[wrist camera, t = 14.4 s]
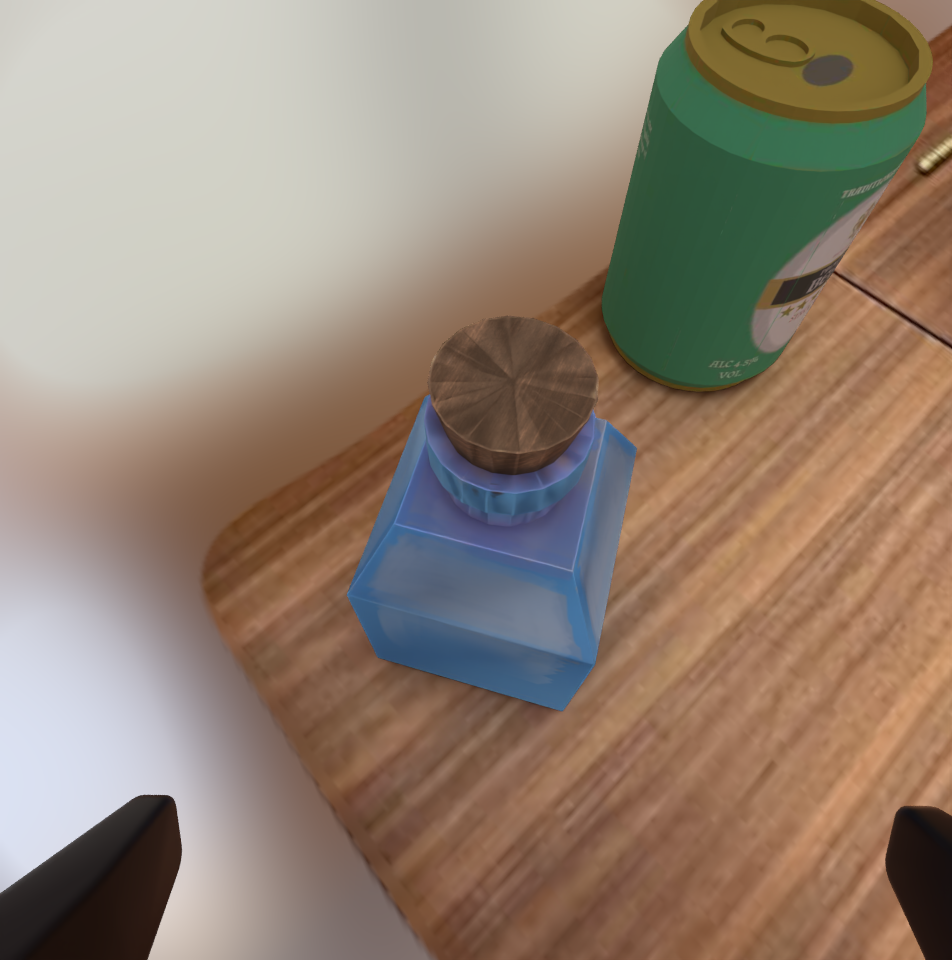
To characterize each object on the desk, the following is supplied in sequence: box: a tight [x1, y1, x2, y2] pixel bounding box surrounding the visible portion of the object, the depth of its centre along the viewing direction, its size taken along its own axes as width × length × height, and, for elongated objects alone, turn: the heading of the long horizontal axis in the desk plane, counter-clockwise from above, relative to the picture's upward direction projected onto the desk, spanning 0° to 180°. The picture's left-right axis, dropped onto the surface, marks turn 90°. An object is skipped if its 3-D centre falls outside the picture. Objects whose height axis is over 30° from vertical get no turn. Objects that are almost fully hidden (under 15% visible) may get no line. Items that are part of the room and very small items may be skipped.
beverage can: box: [602, 0, 933, 392], centre depth 24 cm, size 8×8×12 cm
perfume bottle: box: [347, 316, 637, 711], centre depth 17 cm, size 6×6×12 cm
